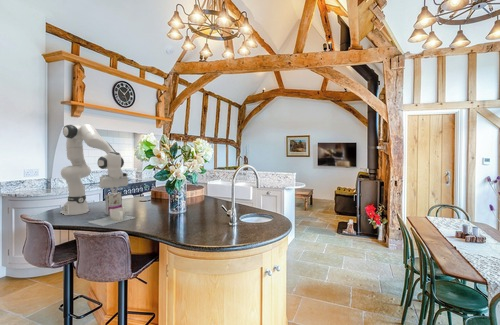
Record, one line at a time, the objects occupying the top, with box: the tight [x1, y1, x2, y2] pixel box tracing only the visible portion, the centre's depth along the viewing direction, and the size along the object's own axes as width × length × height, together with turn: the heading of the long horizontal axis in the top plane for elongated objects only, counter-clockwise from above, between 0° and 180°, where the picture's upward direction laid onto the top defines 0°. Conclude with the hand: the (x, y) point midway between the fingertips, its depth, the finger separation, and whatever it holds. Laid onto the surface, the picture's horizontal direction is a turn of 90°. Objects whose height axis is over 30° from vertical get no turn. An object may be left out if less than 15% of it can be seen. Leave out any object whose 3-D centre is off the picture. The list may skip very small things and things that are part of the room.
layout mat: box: [87, 215, 136, 227], centre depth 188 cm, size 19×25×1 cm
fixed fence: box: [109, 205, 126, 219], centre depth 195 cm, size 2×12×7 cm, turn 150°
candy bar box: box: [104, 192, 123, 216], centre depth 207 cm, size 11×5×16 cm, turn 146°
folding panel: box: [111, 210, 123, 220], centre depth 187 cm, size 2×12×6 cm, turn 62°
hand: (114, 193), depth 187 cm, fingers closed
